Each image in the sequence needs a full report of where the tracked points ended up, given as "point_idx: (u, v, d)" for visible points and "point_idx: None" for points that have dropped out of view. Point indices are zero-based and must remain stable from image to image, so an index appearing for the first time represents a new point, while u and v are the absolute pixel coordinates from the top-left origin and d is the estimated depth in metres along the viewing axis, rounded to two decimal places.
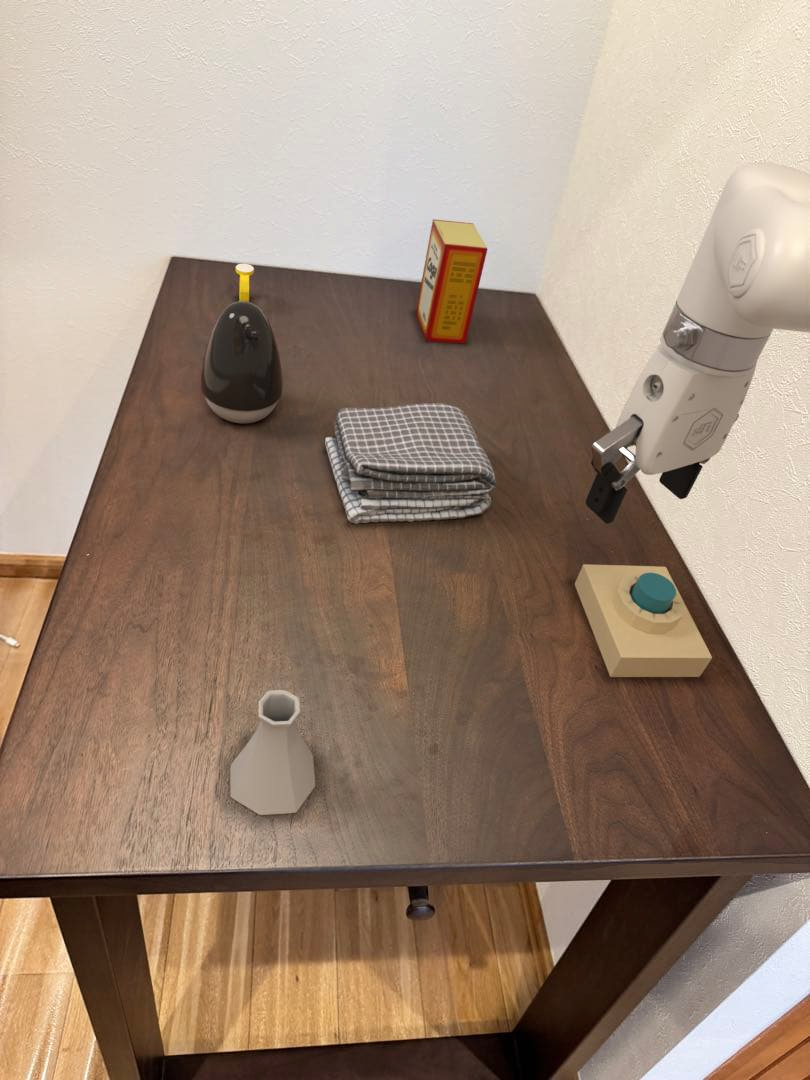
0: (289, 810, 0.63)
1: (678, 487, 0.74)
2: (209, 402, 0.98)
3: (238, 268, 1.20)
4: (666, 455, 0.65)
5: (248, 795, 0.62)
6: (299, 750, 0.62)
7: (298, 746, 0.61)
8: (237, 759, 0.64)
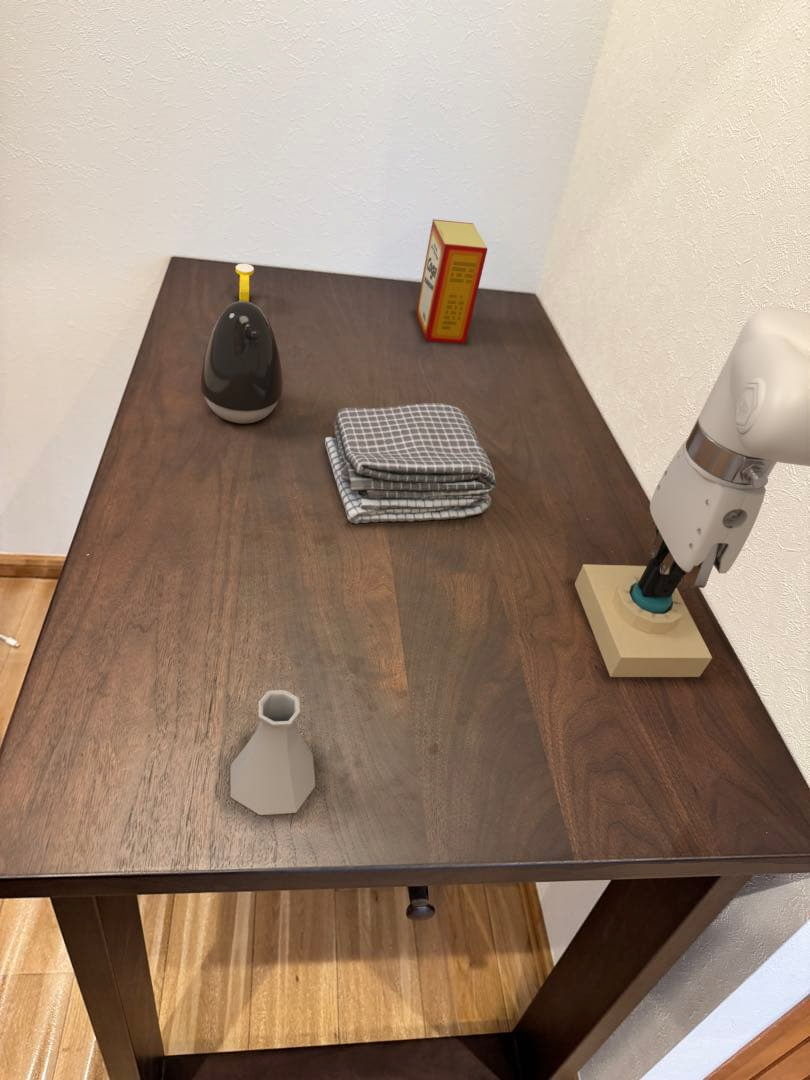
0: (289, 810, 0.63)
1: None
2: (209, 402, 0.98)
3: (238, 268, 1.20)
4: None
5: (248, 795, 0.62)
6: (299, 750, 0.62)
7: (298, 746, 0.61)
8: (237, 759, 0.64)
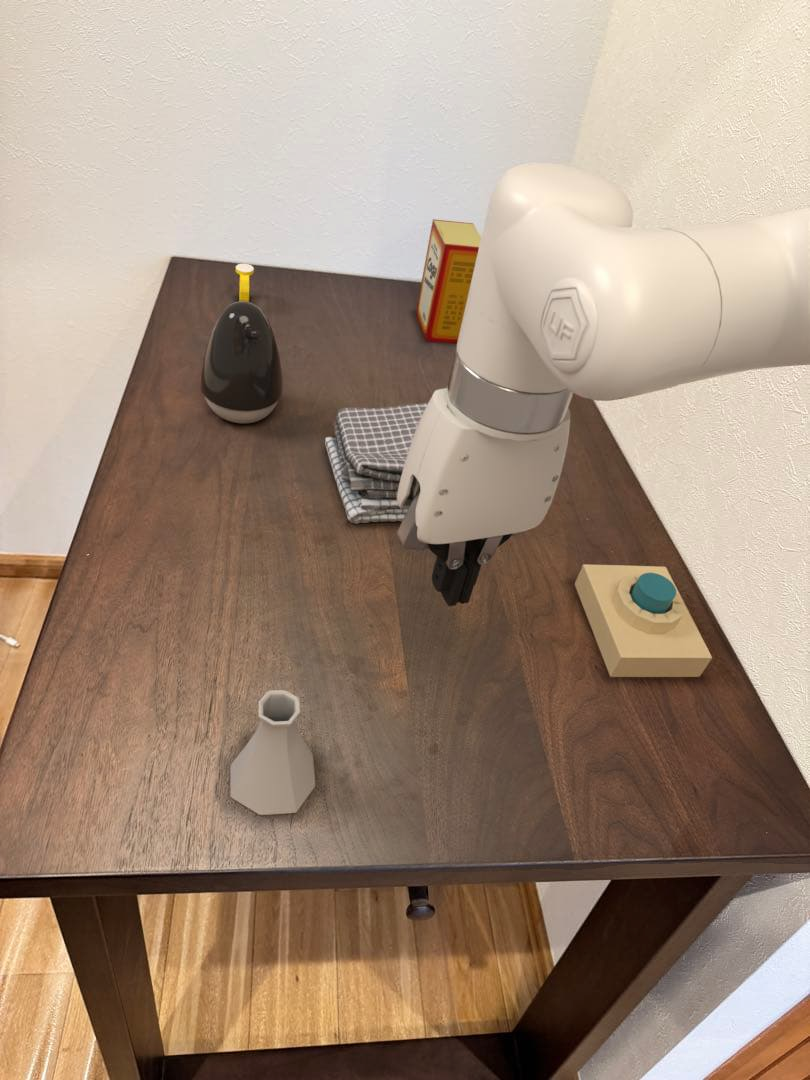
0: (289, 810, 0.63)
1: None
2: (209, 402, 0.98)
3: (238, 268, 1.20)
4: None
5: (248, 795, 0.62)
6: (299, 750, 0.62)
7: (298, 746, 0.61)
8: (237, 759, 0.64)
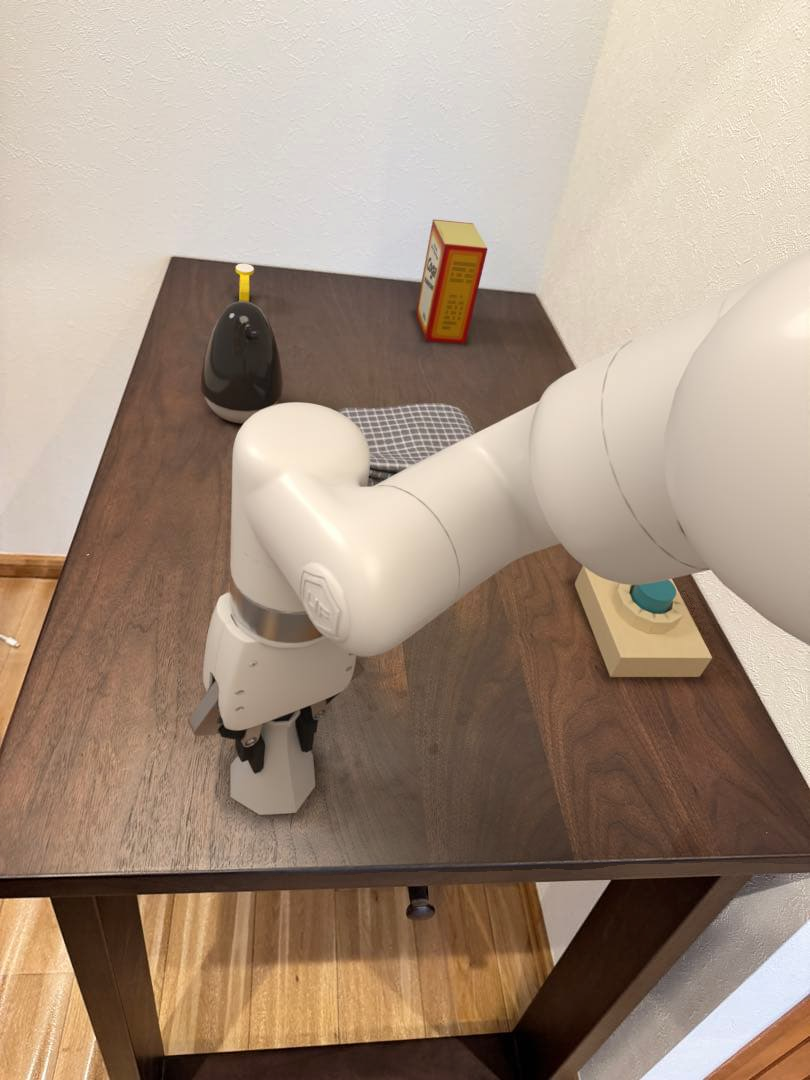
0: (289, 810, 0.63)
1: None
2: (209, 402, 0.98)
3: (238, 268, 1.20)
4: None
5: (248, 795, 0.62)
6: (299, 750, 0.62)
7: (298, 746, 0.61)
8: (237, 759, 0.64)
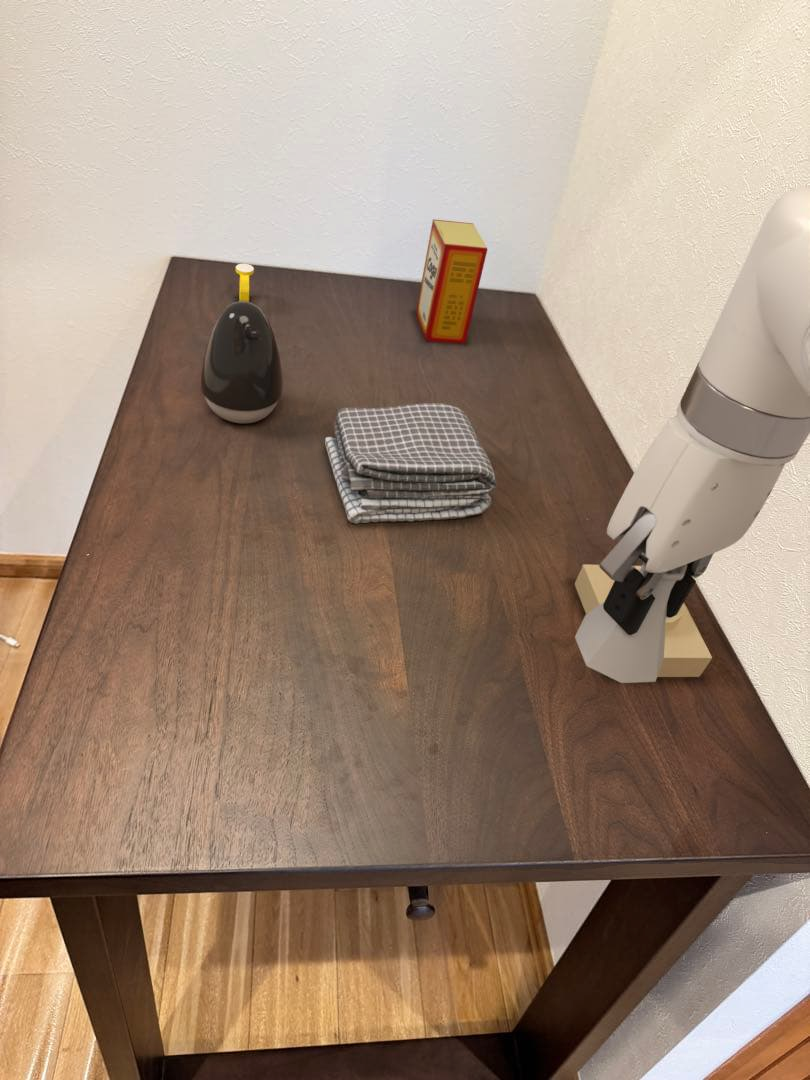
0: (650, 678, 0.60)
1: None
2: (209, 402, 0.98)
3: (238, 268, 1.20)
4: None
5: (610, 662, 0.60)
6: (665, 614, 0.59)
7: (666, 609, 0.59)
8: (589, 629, 0.61)
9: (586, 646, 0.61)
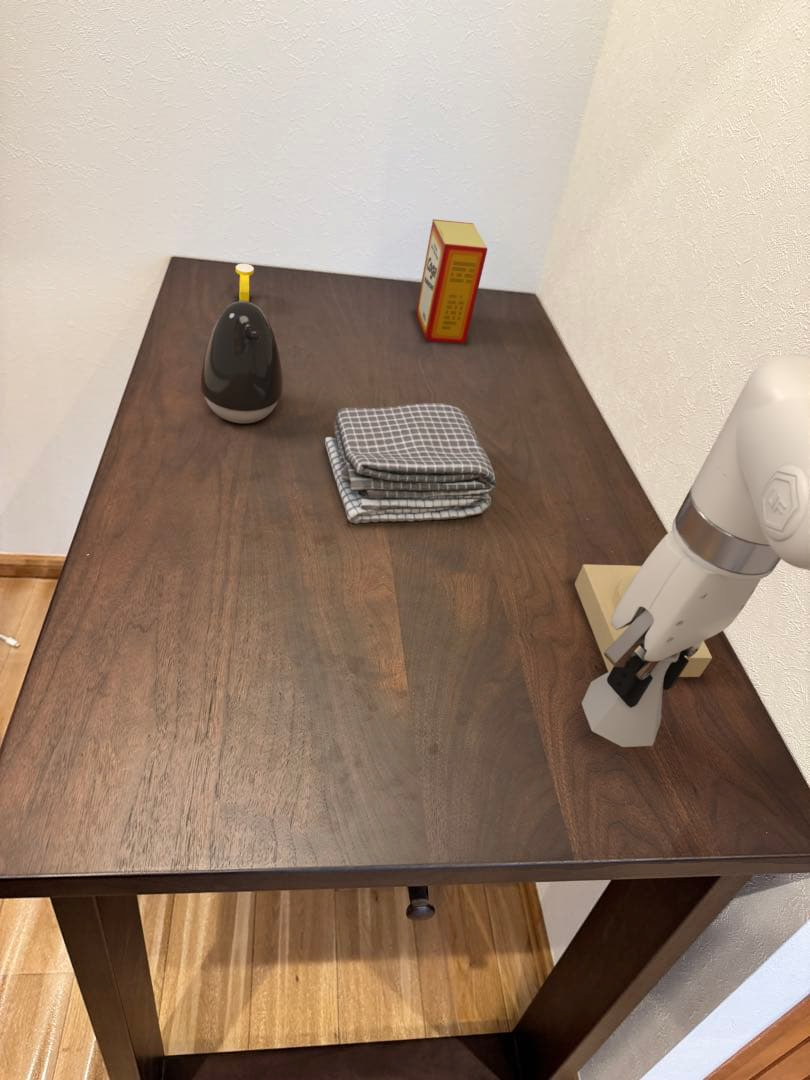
0: (648, 743, 0.68)
1: None
2: (209, 402, 0.98)
3: (238, 268, 1.20)
4: None
5: (613, 729, 0.67)
6: (661, 687, 0.67)
7: None
8: (594, 697, 0.69)
9: (591, 713, 0.69)
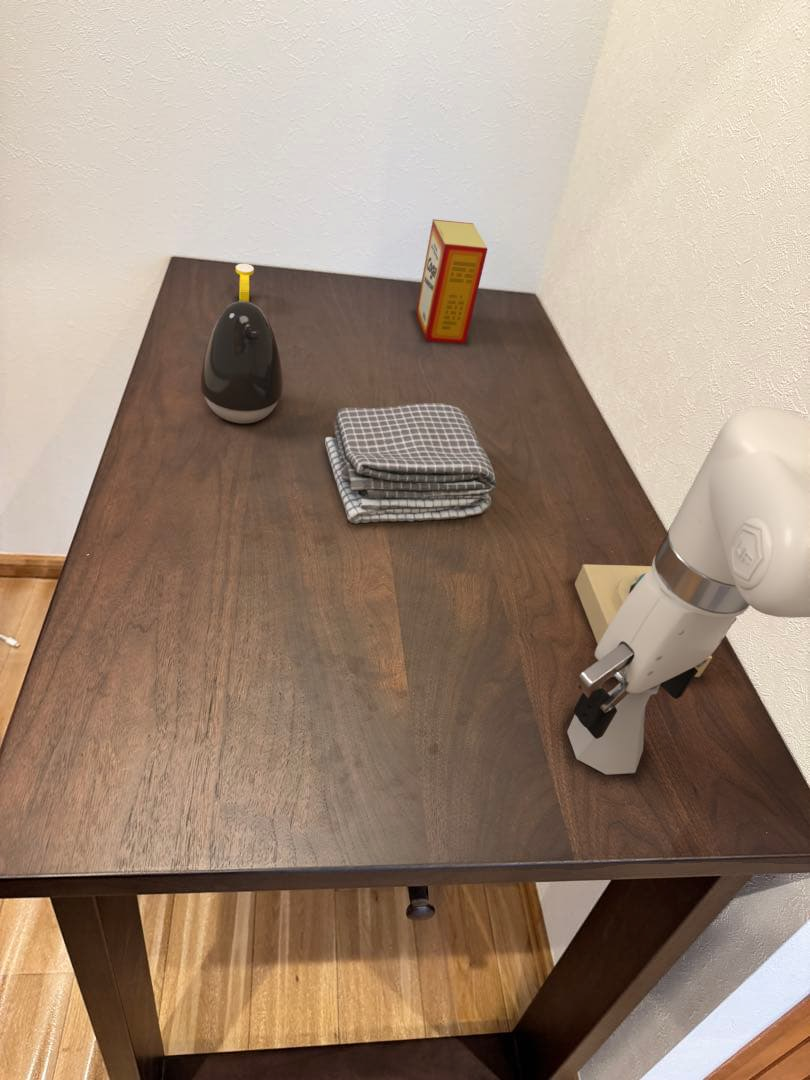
0: (630, 770, 0.71)
1: None
2: (209, 402, 0.98)
3: (238, 268, 1.20)
4: None
5: (596, 757, 0.70)
6: (643, 717, 0.70)
7: (644, 713, 0.69)
8: (579, 726, 0.72)
9: (576, 741, 0.71)
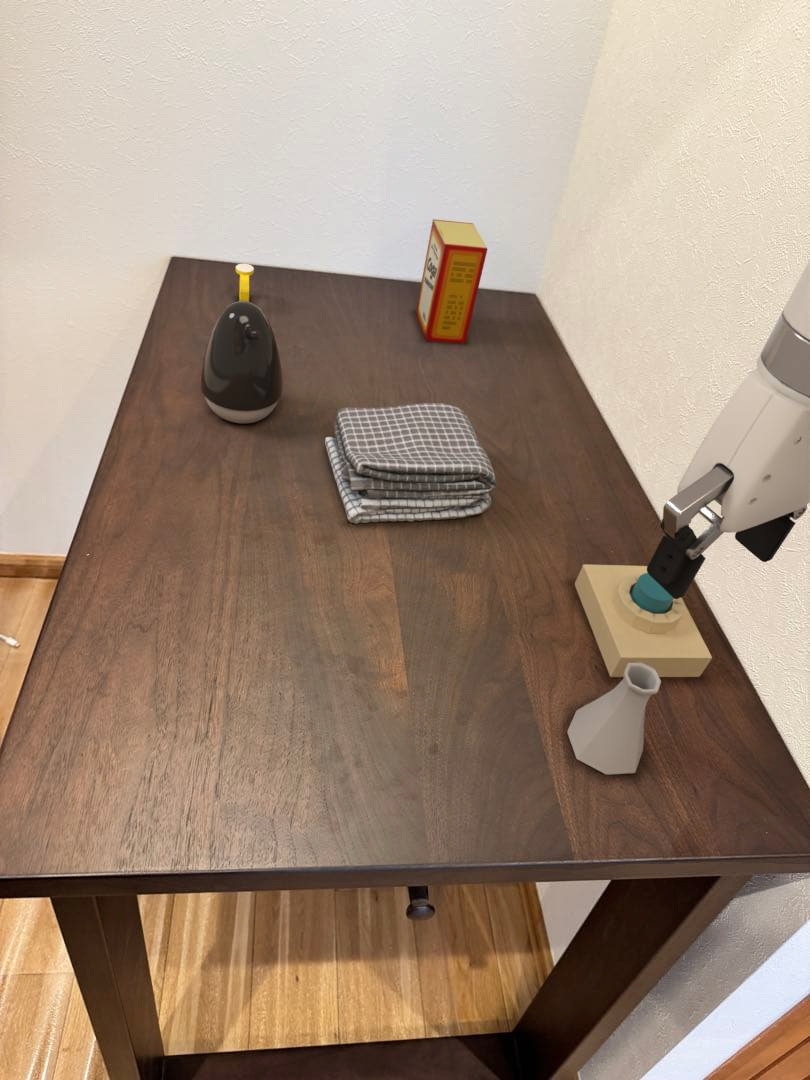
0: (630, 770, 0.71)
1: None
2: (209, 402, 0.98)
3: (238, 268, 1.20)
4: None
5: (596, 757, 0.70)
6: (643, 717, 0.70)
7: (644, 713, 0.69)
8: (579, 726, 0.72)
9: (576, 741, 0.71)
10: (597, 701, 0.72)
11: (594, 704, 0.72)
